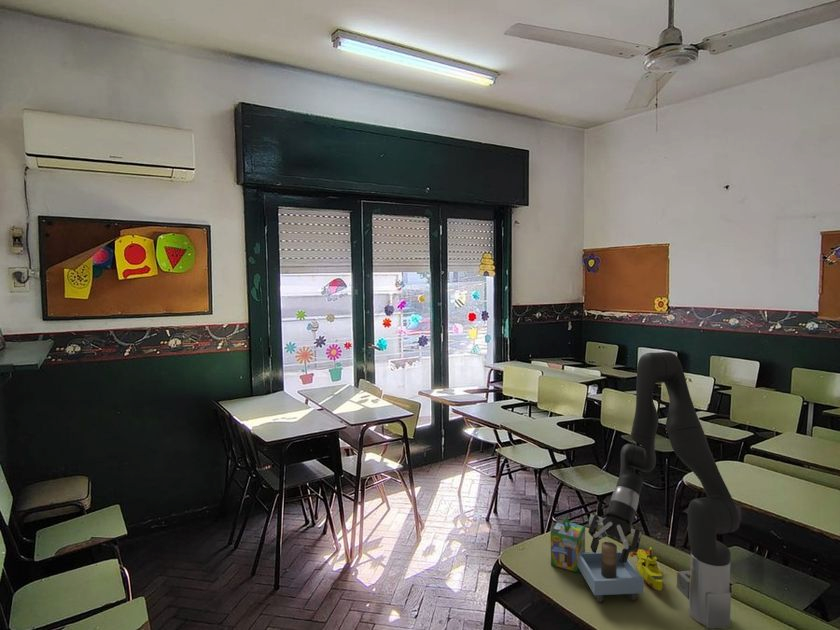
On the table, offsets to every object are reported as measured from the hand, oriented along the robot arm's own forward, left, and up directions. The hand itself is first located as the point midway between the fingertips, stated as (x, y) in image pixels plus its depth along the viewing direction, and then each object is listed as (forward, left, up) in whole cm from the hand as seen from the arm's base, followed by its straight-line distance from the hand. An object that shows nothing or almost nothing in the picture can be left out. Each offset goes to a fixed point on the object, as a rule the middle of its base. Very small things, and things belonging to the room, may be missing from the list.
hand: (607, 557), depth 145 cm
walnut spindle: (+1, -1, -6) cm, 6 cm away
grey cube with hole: (-2, -24, -11) cm, 26 cm away
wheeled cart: (+1, -1, -11) cm, 11 cm away
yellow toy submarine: (+5, -15, -11) cm, 19 cm away
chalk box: (+15, +7, -11) cm, 20 cm away
